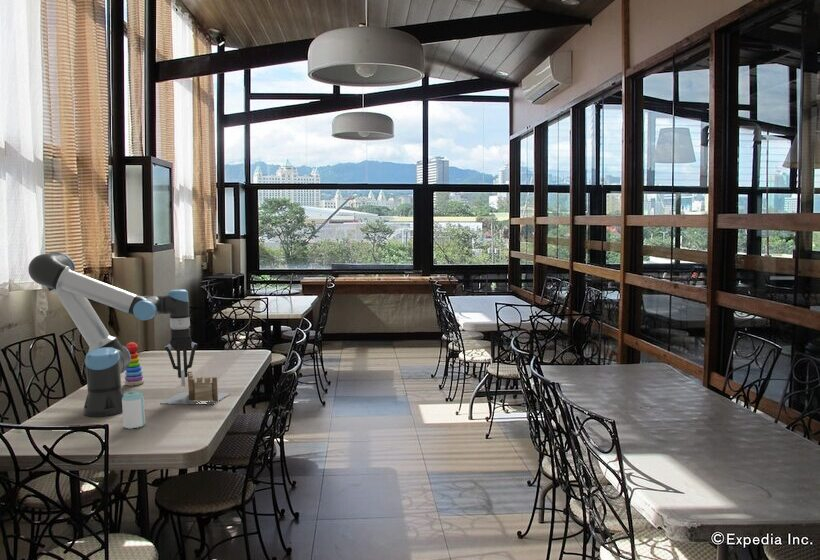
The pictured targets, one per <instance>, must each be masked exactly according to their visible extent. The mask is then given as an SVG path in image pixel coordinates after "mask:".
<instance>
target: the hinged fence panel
mask: <svg viewBox="0 0 820 560" xmlns="http://www.w3.org/2000/svg"><path fill="white" fill-rule="evenodd" d="M187 374H188V376H187V380H188V379H190V378H194V375H193V371H187Z"/></svg>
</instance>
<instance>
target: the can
mask: <svg viewBox="0 0 820 560" xmlns="http://www.w3.org/2000/svg"><path fill="white" fill-rule="evenodd" d="M123 394H124V396H123V398H122V410H123V412H122V422H123V423H122V425H123V427H124V428H126V429H127V428H128V429H127V430H134V429H133V428H137V429H140V428H143V426H145V425H146V416H145V415H146V413H145V399H144V398H145V397H144V395H143V393H142V391H137V390H134V391H128V392H124V393H123ZM139 427H140V428H139Z"/></svg>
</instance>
